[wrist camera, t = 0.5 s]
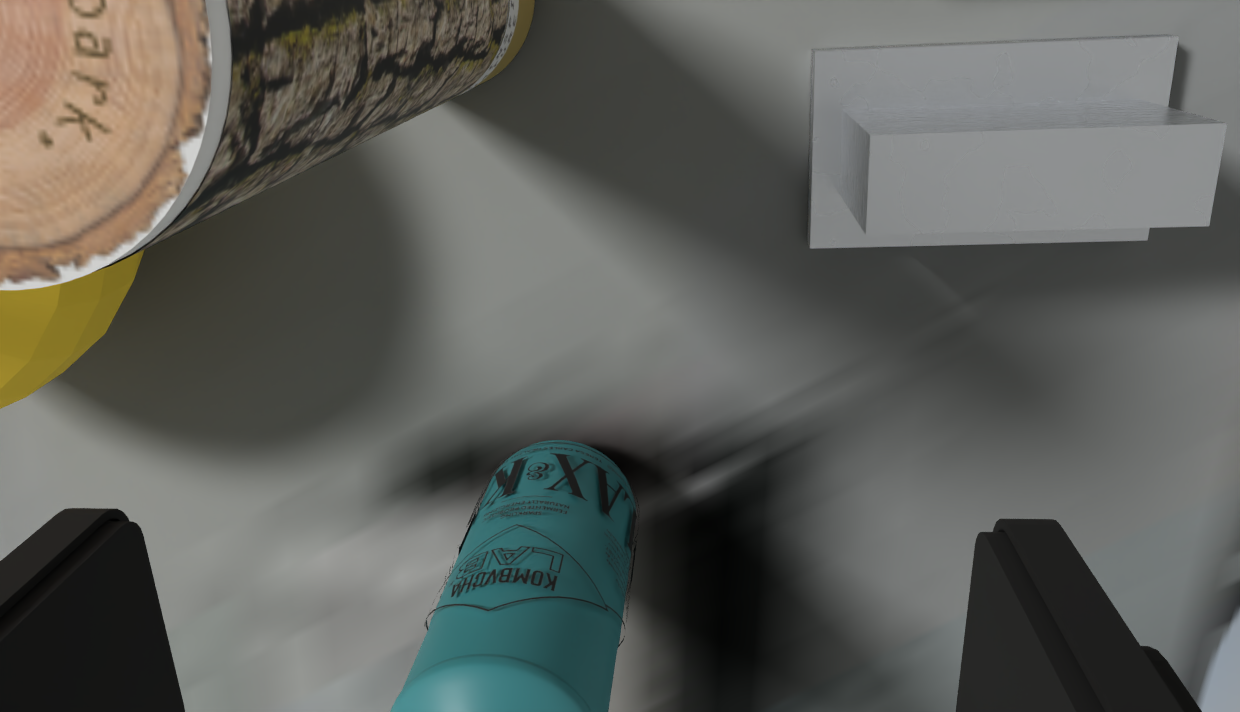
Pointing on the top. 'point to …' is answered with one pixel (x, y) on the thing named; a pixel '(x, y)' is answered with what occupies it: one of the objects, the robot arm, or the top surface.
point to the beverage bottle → (533, 591)
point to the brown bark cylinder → (205, 107)
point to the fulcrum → (1004, 144)
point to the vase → (56, 326)
